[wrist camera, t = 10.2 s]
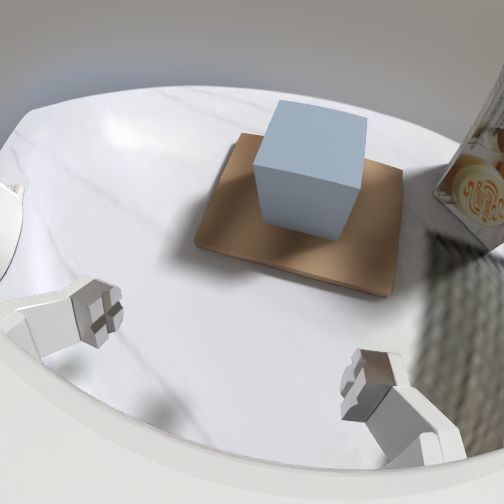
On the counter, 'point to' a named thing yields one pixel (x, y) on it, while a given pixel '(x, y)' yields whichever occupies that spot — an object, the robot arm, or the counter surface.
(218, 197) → the post base
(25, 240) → the counter surface
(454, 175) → the coffee box
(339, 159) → the pale blue cube
